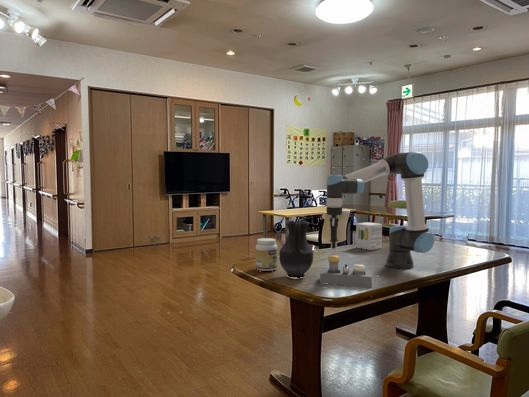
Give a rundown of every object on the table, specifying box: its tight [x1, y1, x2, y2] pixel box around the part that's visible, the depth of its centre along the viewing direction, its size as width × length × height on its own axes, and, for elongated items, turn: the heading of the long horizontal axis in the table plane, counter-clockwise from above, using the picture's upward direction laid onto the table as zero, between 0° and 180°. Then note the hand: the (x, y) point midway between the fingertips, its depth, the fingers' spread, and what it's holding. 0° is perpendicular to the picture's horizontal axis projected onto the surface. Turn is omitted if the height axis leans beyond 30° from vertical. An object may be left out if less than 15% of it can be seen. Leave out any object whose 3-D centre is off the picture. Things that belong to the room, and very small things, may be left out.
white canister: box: [355, 221, 383, 251], centre depth 281 cm, size 13×13×18 cm
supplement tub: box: [255, 237, 278, 270], centre depth 218 cm, size 12×12×17 cm
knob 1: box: [327, 254, 340, 273], centre depth 194 cm, size 5×5×8 cm
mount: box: [319, 267, 373, 288], centre depth 193 cm, size 24×12×5 cm, turn 75°
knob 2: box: [352, 263, 366, 275], centre depth 191 cm, size 5×5×8 cm
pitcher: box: [278, 220, 314, 278], centre depth 200 cm, size 17×21×30 cm
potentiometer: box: [342, 263, 350, 274], centre depth 190 cm, size 3×3×4 cm
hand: (333, 254), depth 193 cm, fingers closed
